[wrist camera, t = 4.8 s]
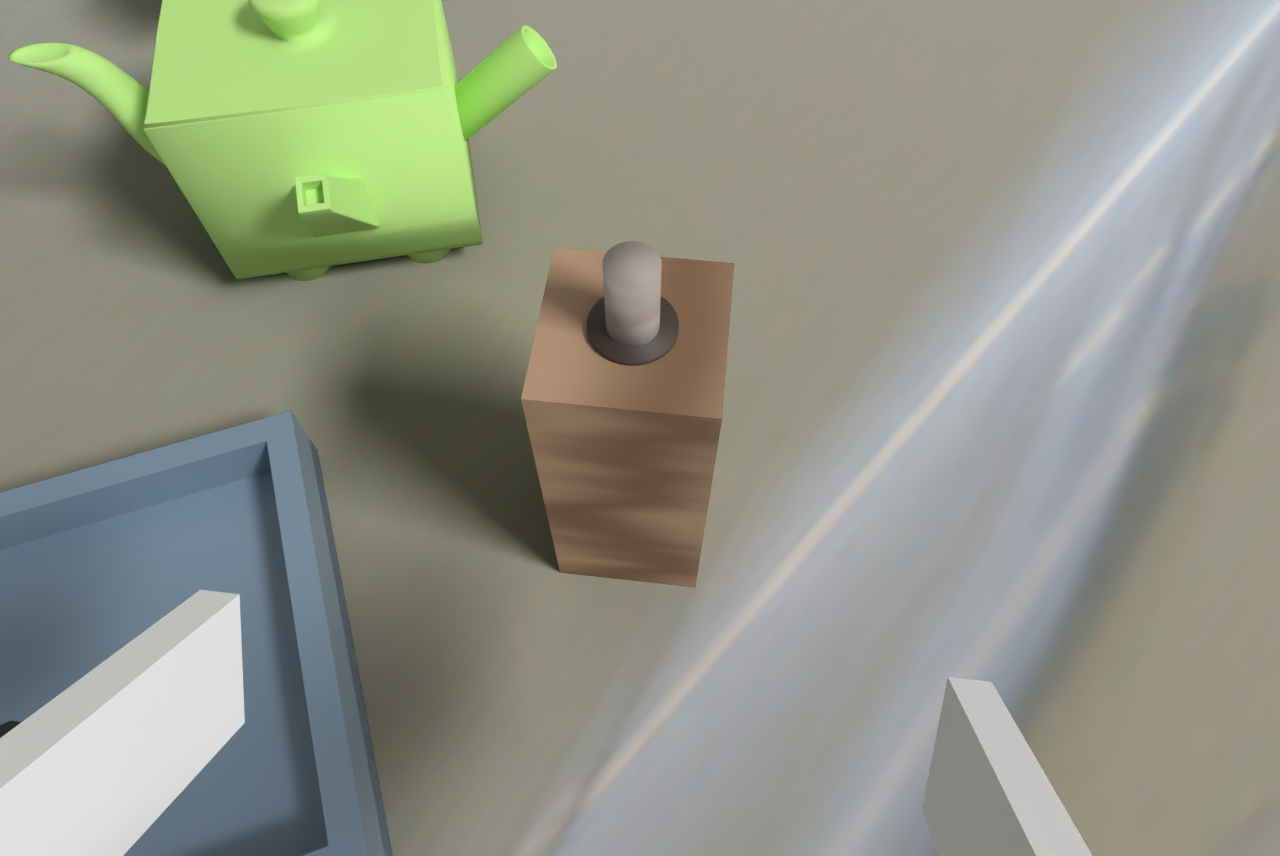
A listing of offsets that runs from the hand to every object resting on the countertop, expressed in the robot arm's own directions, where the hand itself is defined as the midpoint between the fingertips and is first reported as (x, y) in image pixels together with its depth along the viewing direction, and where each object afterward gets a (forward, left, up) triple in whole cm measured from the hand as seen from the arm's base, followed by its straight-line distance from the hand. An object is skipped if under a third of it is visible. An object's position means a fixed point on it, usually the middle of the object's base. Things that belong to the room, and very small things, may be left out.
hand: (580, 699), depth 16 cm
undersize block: (+4, +9, -14) cm, 17 cm away
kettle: (-3, +29, -14) cm, 32 cm away
